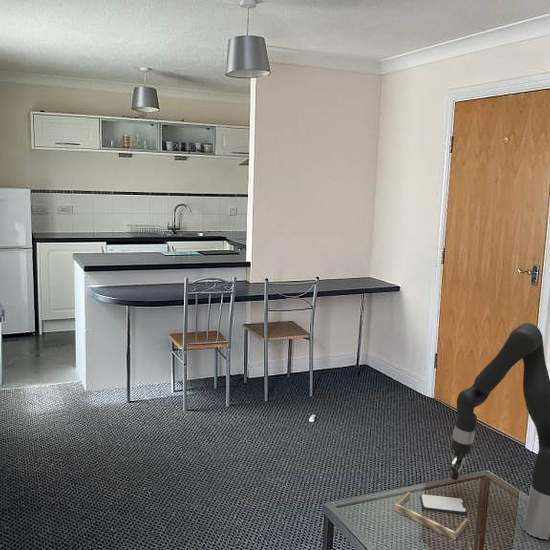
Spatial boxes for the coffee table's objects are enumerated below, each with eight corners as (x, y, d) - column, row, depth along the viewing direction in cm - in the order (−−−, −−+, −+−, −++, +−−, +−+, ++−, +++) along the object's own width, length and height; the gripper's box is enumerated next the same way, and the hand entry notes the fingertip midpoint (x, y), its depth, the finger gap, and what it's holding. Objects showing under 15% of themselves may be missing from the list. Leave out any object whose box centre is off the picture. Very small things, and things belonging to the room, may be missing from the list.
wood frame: (466, 525, 212) (468, 518, 211) (455, 540, 203) (456, 534, 203) (407, 497, 225) (408, 491, 224) (394, 510, 217) (395, 504, 216)
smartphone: (422, 511, 219) (467, 516, 217) (423, 507, 218) (467, 512, 217) (419, 497, 227) (462, 501, 226) (419, 493, 227) (462, 498, 225)
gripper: (466, 448, 216) (457, 490, 221) (478, 435, 227) (470, 476, 231) (446, 440, 221) (438, 482, 225) (459, 428, 231) (451, 467, 236)
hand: (454, 478), depth 228 cm, fingers closed
